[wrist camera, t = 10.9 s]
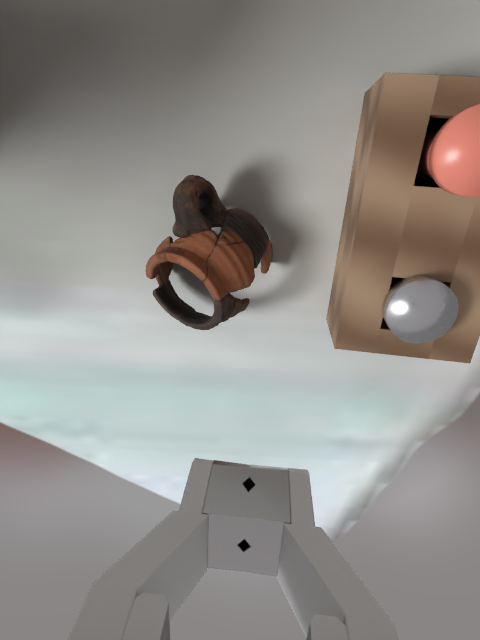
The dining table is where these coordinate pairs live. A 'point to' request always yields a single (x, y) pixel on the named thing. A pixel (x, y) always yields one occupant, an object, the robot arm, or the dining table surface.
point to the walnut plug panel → (405, 221)
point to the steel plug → (419, 308)
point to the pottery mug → (209, 253)
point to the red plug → (454, 154)
